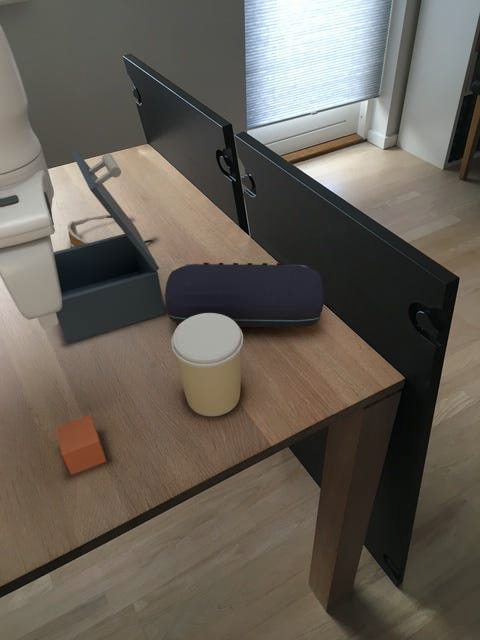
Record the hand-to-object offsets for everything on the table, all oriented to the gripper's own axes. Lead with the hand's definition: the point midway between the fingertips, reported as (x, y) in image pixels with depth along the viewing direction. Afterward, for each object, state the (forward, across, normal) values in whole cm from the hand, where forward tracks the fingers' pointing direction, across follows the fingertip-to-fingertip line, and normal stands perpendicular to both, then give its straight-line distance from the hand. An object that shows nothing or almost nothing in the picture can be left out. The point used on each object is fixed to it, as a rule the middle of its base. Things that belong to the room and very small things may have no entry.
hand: (42, 297), depth 60 cm
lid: (+5, -23, +13) cm, 27 cm away
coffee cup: (+22, +4, +18) cm, 29 cm away
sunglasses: (+22, -42, +14) cm, 50 cm away
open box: (+22, -23, +9) cm, 33 cm away
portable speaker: (+22, -9, +29) cm, 37 cm away
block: (+22, +6, -1) cm, 23 cm away
